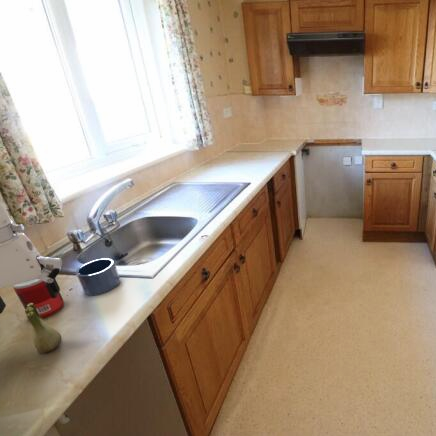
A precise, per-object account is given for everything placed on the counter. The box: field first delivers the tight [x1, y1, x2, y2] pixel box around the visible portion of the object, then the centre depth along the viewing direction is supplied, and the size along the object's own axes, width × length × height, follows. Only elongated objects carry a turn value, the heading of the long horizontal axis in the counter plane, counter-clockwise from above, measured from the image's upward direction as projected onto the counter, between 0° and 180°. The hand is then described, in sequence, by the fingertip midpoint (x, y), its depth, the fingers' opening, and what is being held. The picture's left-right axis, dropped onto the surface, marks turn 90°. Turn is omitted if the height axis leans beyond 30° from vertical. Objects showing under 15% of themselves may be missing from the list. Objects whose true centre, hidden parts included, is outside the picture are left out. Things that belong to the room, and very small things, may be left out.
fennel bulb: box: [24, 303, 62, 354], centre depth 76 cm, size 6×5×12 cm
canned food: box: [11, 279, 65, 319], centre depth 89 cm, size 8×8×11 cm
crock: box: [75, 257, 121, 296], centre depth 99 cm, size 10×10×7 cm
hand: (29, 302), depth 73 cm, fingers open, 9 cm apart
